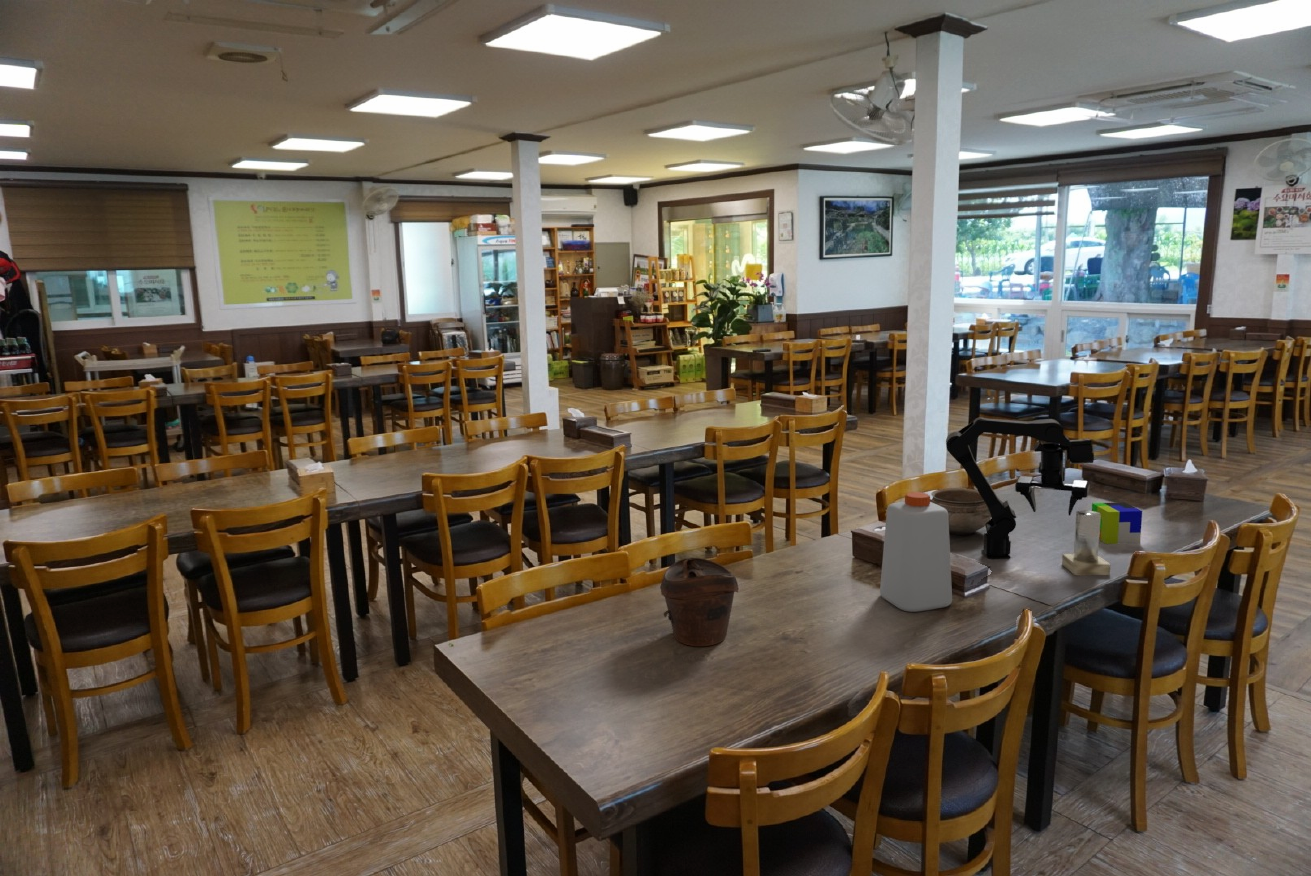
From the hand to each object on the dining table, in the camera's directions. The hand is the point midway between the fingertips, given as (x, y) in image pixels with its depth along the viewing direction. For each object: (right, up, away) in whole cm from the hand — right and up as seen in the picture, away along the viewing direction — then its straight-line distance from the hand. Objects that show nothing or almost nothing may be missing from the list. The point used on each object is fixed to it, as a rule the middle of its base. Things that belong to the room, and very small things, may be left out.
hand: (1052, 513), depth 245 cm
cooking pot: (-17, -9, +26) cm, 33 cm away
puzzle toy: (+26, -9, +15) cm, 31 cm away
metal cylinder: (+4, -12, -11) cm, 17 cm away
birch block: (+4, -15, -11) cm, 18 cm away
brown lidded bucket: (-104, -25, -43) cm, 116 cm away
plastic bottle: (-48, -20, -28) cm, 59 cm away
